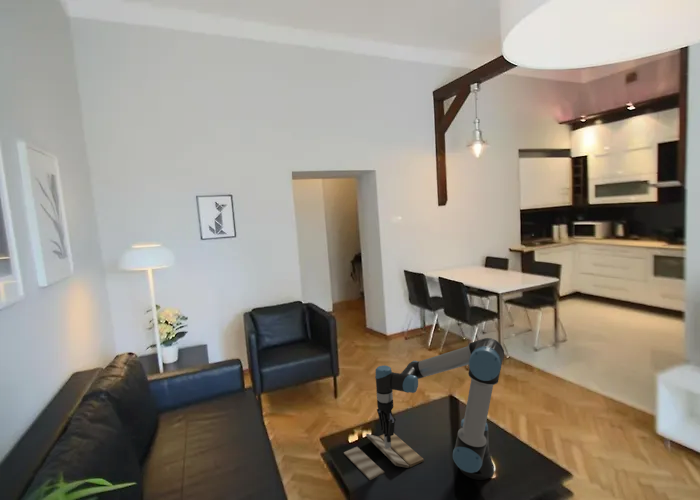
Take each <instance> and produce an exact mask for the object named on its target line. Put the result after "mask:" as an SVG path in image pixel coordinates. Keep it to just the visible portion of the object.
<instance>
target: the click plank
mask: <svg viewBox="0 0 700 500" xmlns="http://www.w3.org/2000/svg"><path fill="white" fill-rule="evenodd" d="M365 437H367V439H368V440H370V441H371V443H372V444H373V445H374V446H375V447H376V448H377V449H378V450H379V451H380V452H381V453H382V454H384V456H386V457H387V459H388V460H389V461H391V463H392V464H393V465H394V466H396V467H400V468H401V467H402V468H407V469H409V468H410V467H409V465H408V464H407V463H406V462H405V461H404V460H403V459H402V458H401V457H400V456H399V455H397V454H396V453H395V452H394V451H393V450H392V449H391V448H387V449H386V448H385V443H384V441H383V440H382V439H381V438H379V436H378V435H373V434H371V433H366V435H365Z"/></svg>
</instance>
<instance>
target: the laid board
mask: <svg viewBox="0 0 700 500" xmlns="http://www.w3.org/2000/svg"><path fill="white" fill-rule="evenodd" d="M378 437H379V438H381V439H382V440H383V441H384V433H383V434H381V435H379V436H378ZM390 448H391V449H392V450H393V451H394V452H395V453H396V454H397V455H399V456H400V457H401V458H402V459H403V460H404V461H405V462H406V463H407V464H408V465H409V468H412V467H414V466H416V465H419V464H422V463H423V462H424V460H425V459H424V458H423V457H422V456H421V455H420V454H418V453H417V452H416V450H414V449H413V448H411V446H409V445H408V444H407V443H406V442H404V441H403V440H402V439H401V438H400V437H399V436H398V435H397V434H396V433H394V435H392V436H391V447H390Z"/></svg>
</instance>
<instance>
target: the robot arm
mask: <svg viewBox="0 0 700 500" xmlns="http://www.w3.org/2000/svg"><path fill="white" fill-rule="evenodd" d="M504 357H505V350H504V347H503V345H502V344H501V342H499V341H497V339H494V338H491V337H484V338H481V339H477V340H475V341H472V342H469V343H468V345H466V346H465V347H460V348H458V349H454V350H451V351H449V352H444V353H441V354H439V355H436V356H435V355H434V356H433V357H429V358H426V359H422V360H419V361H418V360H413V361H411V362H409V363H408V364H407V365H406V367H405V368H404V369H403V370H402V371H401V373H400V372H393V371H392V367H390V366H388V365H379V366H377V367H376V368H375V378H374V379H375V384H376V385H375V386H376V391H375V392H376V403H377V404H376V405H377V406H376V407H377V408H376V411H377V414H378V415H377V416H378V419H379V421H378V422H379V426H380V427H379V428H380V430H381V431H382V433H383V434H384V443H385V448H386V449H387V448H390V447H391V436H392V435H394V434H395V433H394V432H395V425H396V423H395V422H396V421H397V420H396V418H394V417H393V412H392V410H393V409H394V394H393V392H394V391H399V392H405V393H408V394H409V393H411V394H414V393H417V390H418V387H419V379H423V378H426V377H429V376H433V375H436V374H437V375H438V374H440V373H444V372H447V371H450V370H455V369H458V368H462V367H464V366H469V367H468V376H469V378H470V386H469V390H468V396H467V401H466V407H465V413H464V418H462V419H461V422H460V428H459V429H458V431H457V435H456V436H457V437H456V439H455V440H456V441H455V444H454V449H453V451H452V459H453V462H454V463H455V465H456V466H457V468H459V470H460V472H461V473H462V474H463V475H464V476H465V477H467V478H470V479H473V480H477V481H484V480H488V479H491V478H492V477H493V476H494V474H495V465H494V463H493V460H492V457H491V454H490V447H489V446H490V445H489V444H490V442H489V424H488V423H487V419H488V414H489V409H490V403H491V400H492V399H491V398H492V393H493V388H494V386H495V385H497V384H498V383H499V378H500V375H501V370H502V369H501V368H502V364H503V361H504Z"/></svg>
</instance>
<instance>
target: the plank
mask: <svg viewBox="0 0 700 500" xmlns="http://www.w3.org/2000/svg"><path fill="white" fill-rule="evenodd" d="M343 455H345V457H346V458H348V459H349V460H350V462H352V464H354V466H356V468H358V470H359V471H360V472H361V473H363V475H364V476H365V477H366V478H367V479H368V480H369V481H372V480H373V479H375V478H377V477H380V476H382V475H383V474H385V470H383V469H382V468H381V467H380V466H379V465H377V463H376V462H374V461H373V460H372V459H371V458H370V456H368V455H367V454H366V453H365V452H364V451H363V450H362V449H360V447H358V446H355V447H352V448H350V449H347V450H346V451H344V452H343Z"/></svg>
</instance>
